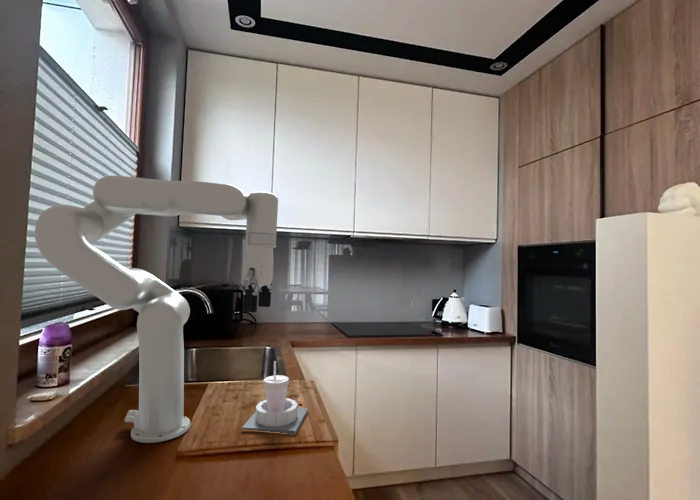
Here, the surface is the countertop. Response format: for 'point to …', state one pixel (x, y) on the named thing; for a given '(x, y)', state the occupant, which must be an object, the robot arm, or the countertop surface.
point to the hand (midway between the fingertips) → (257, 309)
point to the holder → (277, 418)
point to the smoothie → (276, 391)
